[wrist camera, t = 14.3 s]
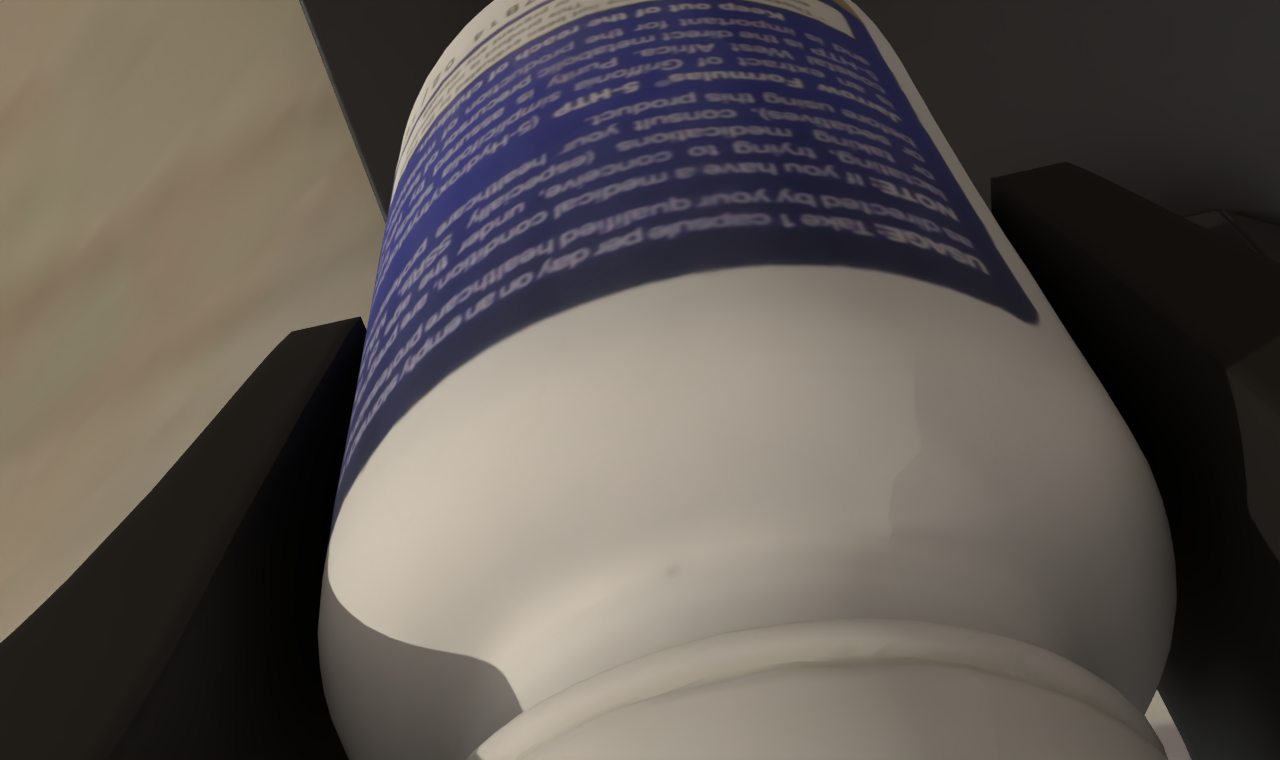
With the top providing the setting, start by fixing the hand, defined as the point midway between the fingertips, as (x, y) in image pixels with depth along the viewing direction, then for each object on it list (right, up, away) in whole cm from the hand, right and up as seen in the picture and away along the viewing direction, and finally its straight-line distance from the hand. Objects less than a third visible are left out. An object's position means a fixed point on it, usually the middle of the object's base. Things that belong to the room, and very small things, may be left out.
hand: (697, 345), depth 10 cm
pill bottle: (0, +2, +2) cm, 3 cm away
